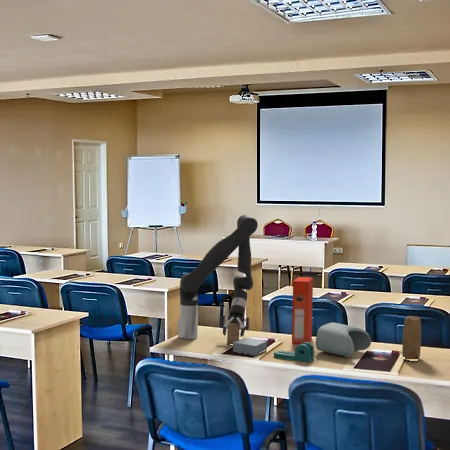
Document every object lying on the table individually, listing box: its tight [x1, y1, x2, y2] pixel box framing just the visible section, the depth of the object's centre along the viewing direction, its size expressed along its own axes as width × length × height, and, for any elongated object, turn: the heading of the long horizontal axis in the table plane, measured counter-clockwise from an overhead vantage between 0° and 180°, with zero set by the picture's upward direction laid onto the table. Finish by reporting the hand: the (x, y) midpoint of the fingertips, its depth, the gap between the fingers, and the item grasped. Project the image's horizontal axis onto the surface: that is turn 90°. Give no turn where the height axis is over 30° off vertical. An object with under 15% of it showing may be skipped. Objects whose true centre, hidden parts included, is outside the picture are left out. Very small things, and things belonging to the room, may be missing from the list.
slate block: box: [232, 337, 268, 356], centre depth 309 cm, size 12×12×5 cm
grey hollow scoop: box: [315, 321, 372, 358], centre depth 310 cm, size 22×19×13 cm
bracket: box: [273, 341, 315, 364], centre depth 298 cm, size 18×7×8 cm, turn 64°
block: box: [401, 315, 422, 360], centre depth 301 cm, size 11×8×20 cm
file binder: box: [291, 276, 314, 346], centre depth 332 cm, size 8×17×32 cm, turn 165°
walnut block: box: [226, 323, 240, 346], centre depth 322 cm, size 5×5×10 cm
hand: (232, 335), depth 321 cm, fingers open, 8 cm apart
